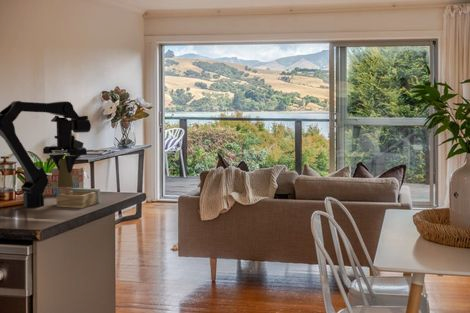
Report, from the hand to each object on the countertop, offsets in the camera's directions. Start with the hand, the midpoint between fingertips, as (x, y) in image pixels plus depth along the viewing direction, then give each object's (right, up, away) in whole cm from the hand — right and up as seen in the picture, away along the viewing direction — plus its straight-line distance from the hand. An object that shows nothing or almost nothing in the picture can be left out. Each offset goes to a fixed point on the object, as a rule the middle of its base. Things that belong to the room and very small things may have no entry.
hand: (65, 172), depth 226 cm
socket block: (+6, -13, -5) cm, 15 cm away
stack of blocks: (-11, -11, +28) cm, 32 cm away
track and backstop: (+6, -14, -7) cm, 16 cm away
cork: (0, -6, +1) cm, 6 cm away
